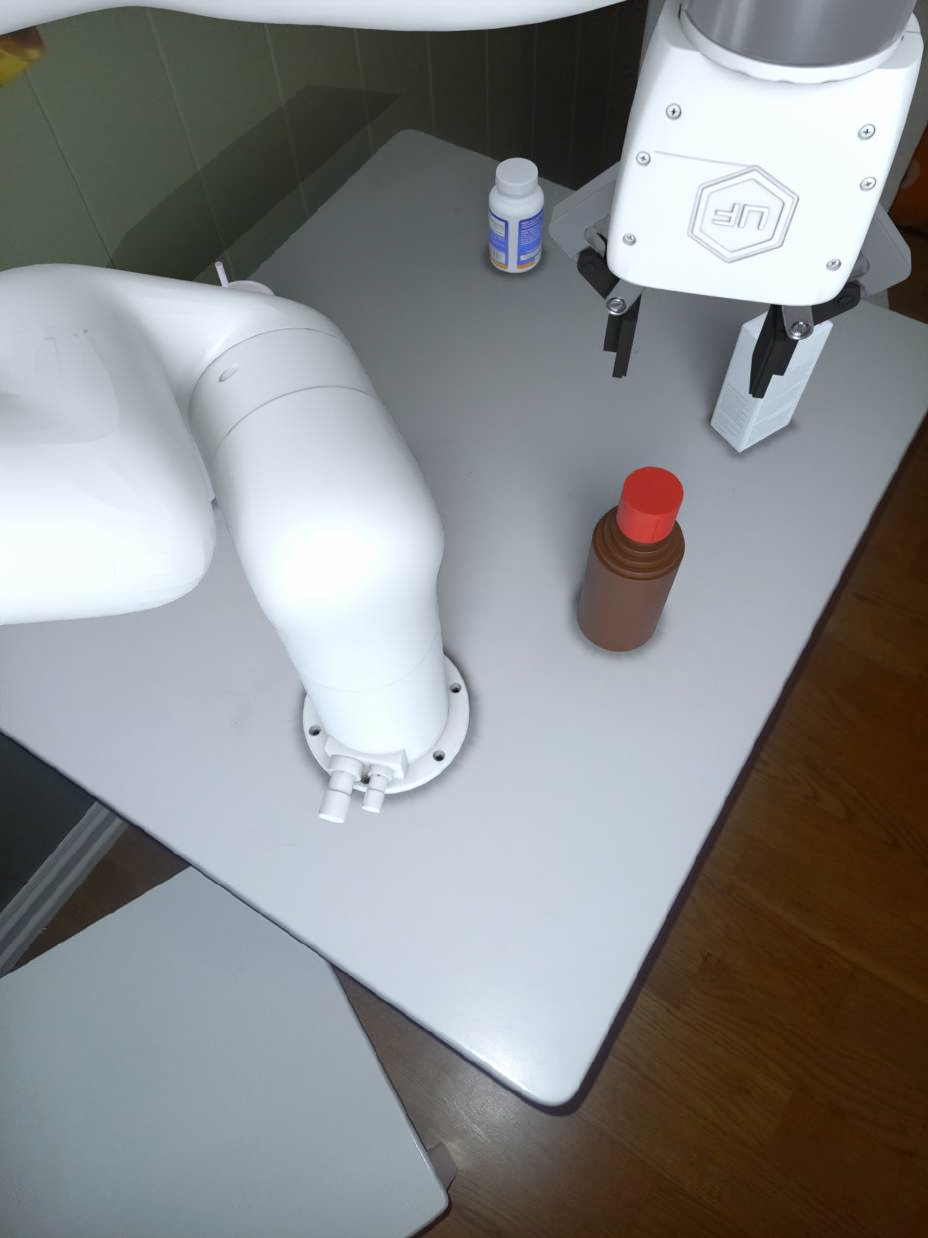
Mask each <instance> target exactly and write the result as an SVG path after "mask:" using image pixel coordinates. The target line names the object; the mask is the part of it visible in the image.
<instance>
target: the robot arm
mask: <svg viewBox="0 0 928 1238" xmlns="http://www.w3.org/2000/svg"><path fill="white" fill-rule="evenodd" d="M625 1H626V0H0V36H2V35H6V34H8V33H12V32H16V31H19V30H23V29H26V28H30V27H34V26H37V25H42V24H45V23H50V22H54V21H58V20H62V19H66V18H70V17H74V16H78V15H81V14H86V13H91V12H97V11H102V10H108V9H113V8H121V7H122V8H123V7H147V8H156V9H163V10H170V11H176V12H181V13H186V14H192V15H198V16H203V17H208V18H214V19H215V18H216V19H221V20H230V21H239V22H249V23H262V24H275V25H277V24H278V25H299V26H303V25H304V26H325V27H336V28H348V29H349V28H350V29H362V30H363V29H364V30H379V31H380V30H382V31H398V32H458V31H460V32H461V31H477V30H478V31H479V30H494V29H495V30H496V29H501V28H511V27H517V26H518V27H519V26H525V25H533V24H539V23H544V22H548V21H553V20H557V19H563V18H567V17H571V16H575V15H580V14H584V13H587V12H590V11H594V10H597V9H600V8H601V9H602V8H604V7H607V6H611V5H615V4H617V3H621V2H625ZM917 1H918V0H665V2H664V4H663V7H662V9H661V12H660V15H659V17H658V19H657V22H656V24H655V27H654V30H653V32H652V35H651V38H650V41H649V43H648V46H647V49H646V52H645V55H644V59H643V62H642V65H641V69H640V72H639V76H638V79H637V80H638V81H637V84H636V89H635V92H634V97H633V100H632V104H631V108H630V111H629V116H628V121H627V126H626V131H625V135H624V137H625V138H624V141H623V145H622V151H621V155H620V160H619V161H617V162H616V163H614V164H613V165H611V166H610V167H608V168H607V169H606V170H604V171H603V172H601V173H600V174H599V175H597V176H596V177H594V178H593V179H592V180H589V182H587V183H586V184H584V185H583V186H581V187H580V188H578V189H577V190H576V191H574V192H573V193H572V194H570V195H569V196H567V197H566V198H564V199H563V200H562V201H559V202H558V203H557V204H556V205H554V207H553V208H552V210H551V214H550V219H549V222H548V226H547V234H548V235H549V237H550V238H551V240H553V241H554V242H555V243H556V245H557V246H558V247H559V248H560V249H561V250H562V251H563V253H565V255H566V256H567V257H568V258H569V259H572V260H573V261H574V262H575V263H576V270H577V272H578V273H579V274H580V276H582V278H584V280H585V281H586V282H587V283H588V284H589V285H590V286H591V287H592V288H593V289H594V290H595V291H596V293H597V294H598V295H599V296H600V297H601V298H602V299H603V308H604V309H603V310H605V312H606V313H607V314H608V316H607V323H606V328H605V335H604V341H603V347H602V351H603V352H609V353H615V358H614V363H613V369H612V375H611V377H612V378H615V379H622V378H623V377H627V374H628V368H629V364H630V359H631V355H632V349H633V344H634V339H635V335H636V329H637V325H638V320H639V319H638V318H639V314H640V307H641V302H642V297H643V292H644V291H645V290H646V289H647V288H649V289H650V288H651V289H657V290H663V291H664V290H665V291H671V292H677V293H678V292H679V293H686V294H693V295H701V296H709V297H717V298H723V299H730V300H731V299H732V300H739V301H746V302H754V303H755V302H756V303H761V304H762V303H764V304H770V305H769V308H768V310H767V311H768V313H767V316H766V318H765V321H764V324H763V326H762V329H761V332H760V334H759V337H758V340H757V342H756V345H755V348H754V350H753V354H752V361H751V372H750V384H749V394H752V397H753V398H760V399H763V398H764V396H765V393H766V391H767V388H768V386H769V384H770V381H771V379H772V376H773V375H779V376H784V374H785V372H786V370H787V367H788V365H789V363H790V360H791V358H792V356H793V353H794V351H795V349H796V346H797V344H798V342H799V340H802V339H806V338H807V337H809V336H810V335H811V334H812V333H813V331H814V326H816V325H818V324H820V323H822V322H824V321H827V320H829V321H830V320H831V319H833V318H835V317H837V316H840V315H841V314H843V313H846V312H848V311H850V310H853V309H854V308H855V307H857V306H858V305H859V304H860V302H861V300H862V299H864V298H866V297H869V298H871V297H873V296H875V295H877V294H879V293H881V292H883V291H886V290H887V289H889V288H891V287H893V286H895V285H897V284H900V283H901V282H903V281H905V280H907V279H908V278H909V276H910V275H911V272H912V256H911V255H912V254H911V253H912V252H911V248H910V247H909V245H908V243H907V242H906V241H905V239H904V237H903V236H902V235H901V233H900V232H899V229H898V228H897V227H896V225H895V223H894V222H893V220H892V219H891V217H890V216H889V214H888V213H887V212H886V210H885V209H884V207H883V205H882V204H881V202H880V199H881V196H882V193H883V190H884V188H885V185H886V183H887V179H888V176H889V173H890V170H891V167H892V164H893V162H894V160H895V156H896V153H897V150H898V147H899V143H900V140H901V137H902V135H903V131H904V129H905V125H906V121H907V118H908V115H909V112H910V107H911V104H912V100H913V97H914V93H915V89H916V86H917V81H918V78H919V73H920V68H921V64H922V58H923V52H924V40H923V36H922V33H921V27H920V24H919V21H918V19H917V17H916V15H915V14H914V13H913V12H914V9H915V7H916V4H917ZM607 217H609V225H608V232H607V238H606V236H604V234H602V233H600V232H596V231H595V229H596V228H595V227H594V226H595V225H596V224H598V223H599V222H601V221H603V220H604V219H606V218H607ZM860 253H861V254H862V256H863V257H860V258H859V259H858V257H859V256H860V255H859V254H860ZM274 295H275V294H274ZM274 295H270V294H264V293H259V292H253V291H247V290H240V289H234V288H228V287H222V285H216V284H209V283H203V282H197V281H192V280H191V281H190V280H184V279H179V278H173V277H172V278H171V277H166V276H160V275H154V274H153V275H152V274H146V273H140V272H134V271H133V272H132V271H129V270H121V269H115V268H110V267H103V266H93V265H86V264H79V263H78V264H77V263H61V262H60V263H59V262H57V263H54V262H53V263H39V264H38V263H37V264H30V265H24V266H19V267H13V268H10V269H6V270H3V271H0V626H7V625H19V624H20V625H21V624H32V623H42V622H44V623H45V622H54V621H55V622H56V621H67V620H68V621H69V620H80V619H91V618H100V617H101V618H102V617H111V616H118V615H119V616H120V615H125V614H131V613H138V612H144V611H147V610H151V609H154V608H158V607H162V606H165V605H168V604H171V603H172V602H174V601H176V600H179V599H180V598H182V597H184V596H186V595H187V594H189V593H190V592H191V591H192V590H194V589H195V588H197V587H198V585H199V584H200V583H201V582H202V580H203V579H204V577H205V576H206V575H207V573H208V571H209V569H210V568H211V564H212V559H213V557H214V553H215V550H216V542H217V541H216V538H217V537H216V520H215V514H214V508H213V505H212V501H211V500H210V495H209V491H208V488H207V484H206V481H205V478H204V475H203V472H202V469H201V466H200V464H199V461H198V458H197V455H196V453H195V450H194V447H193V445H197V448H198V450H199V453H200V455H201V458H202V460H203V463H204V466H205V468H206V471H207V473H208V476H209V478H210V481H211V485H212V489H213V492H214V495H215V499H216V500H215V501H216V502H217V505H218V508H219V510H220V512H221V515H222V519H223V520H224V522H225V526H226V528H227V531H228V534H229V536H230V538H231V541H232V543H233V546H234V549H235V551H236V554H237V557H238V559H239V562H240V565H241V567H242V570H243V572H244V575H245V577H246V579H247V582H248V584H249V587H250V589H251V591H252V594H253V595H254V598H255V599H256V602H257V603H258V606H259V607H260V609H261V611H262V612H263V613H264V615H265V617H266V618H267V619H268V620H269V622H270V623H271V624H272V627H273V629H274V630H275V632H276V634H277V637H278V639H279V640H280V642H281V644H282V646H283V648H284V651H285V653H286V655H287V656H288V658H289V660H290V661H291V663H292V666H293V668H294V669H295V671H296V674H297V676H298V678H299V680H300V682H301V684H302V686H303V688H304V690H305V696H304V700H303V708H302V725H303V732H304V733H303V734H304V736H305V739H306V742H307V745H308V747H309V750H310V751H311V753H312V755H313V757H314V758H315V759H316V761H317V763H318V764H319V766H320V767H321V768H322V769H323V770H324V771H325V772H326V773H327V774H328V775H329V776H330V779H329V781H328V782H329V783H328V786H327V789H326V790H325V791H324V792H323V796H322V799H321V803H320V806H319V809H318V813H317V816H318V818H321V819H322V820H325V821H327V822H332V823H337V824H345V822H346V819H347V815H348V812H349V808H350V804H351V802H352V801H351V800H352V798H353V797H352V796H351V795H352V793H353V789H354V790H356V791H359V792H363V793H365V794H364V796H363V799H362V803H361V809H363V810H364V811H367V812H370V813H376V814H377V813H378V814H379V813H381V811H382V807H383V803H384V801H385V797H386V795H388V794H389V795H390V794H398V793H401V792H407V791H411V790H413V789H416V788H418V787H421V786H422V785H425V784H427V783H428V782H430V781H432V779H435V777H437V776H439V775H441V773H442V772H443V771H444V770H445V769H446V768H447V767H448V766H449V765H450V764H451V763H452V762H453V760H455V757H457V755H458V754H459V752H460V751H461V748H462V746H463V743H464V741H465V739H466V737H467V733H468V730H469V729H468V728H469V725H470V700H469V699H470V698H469V693H468V690H467V686H466V682H465V680H464V678H463V676H462V674H461V673H460V671H459V669H458V668H457V666H456V665H455V663H453V661H452V660H451V659H450V658H449V657H448V656H447V655H446V654H444V648H443V638H442V637H443V636H442V627H441V618H440V610H439V603H438V592H437V579H438V574H439V571H440V567H441V563H442V560H443V556H444V552H445V551H444V550H445V533H444V527H443V521H442V518H441V514H440V511H439V508H438V505H437V504H436V500H435V498H434V495H433V494H432V492H431V489H430V487H429V485H428V483H427V480H426V479H425V477H424V474H423V472H422V471H421V469H420V466H419V465H418V463H417V461H416V459H415V457H414V455H413V453H412V451H411V449H410V448H409V445H408V444H407V442H406V441H405V439H404V437H403V435H402V433H401V431H400V430H399V428H398V426H397V423H395V420H394V419H393V417H392V415H391V413H390V412H389V410H388V408H387V407H386V406H385V403H384V402H383V400H382V398H381V396H380V395H379V393H378V391H377V389H376V386H374V383H373V382H372V380H371V378H370V376H369V374H368V373H367V371H366V369H365V367H364V365H363V363H362V361H361V359H360V358H359V357H358V355H357V354H356V351H355V350H354V348H353V347H352V345H351V343H350V342H349V340H348V339H347V338H346V336H345V334H344V333H343V332H342V331H341V330H340V328H339V327H338V326H337V325H336V324H335V323H334V322H333V321H331V320H330V319H329V318H328V317H327V316H326V315H324V314H323V313H321V312H320V311H318V310H316V309H314V308H312V306H311V307H310V306H309V305H306V304H305V303H301V302H299V301H295V300H293V299H289V298H286V297H282V296H278V295H275V296H274ZM455 690H457V691H458V692H454V691H455ZM316 732H319V733H318V734H315V733H316ZM438 757H440V758H442V760H437V759H438ZM366 780H369V781H368V783H366Z"/></svg>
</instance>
